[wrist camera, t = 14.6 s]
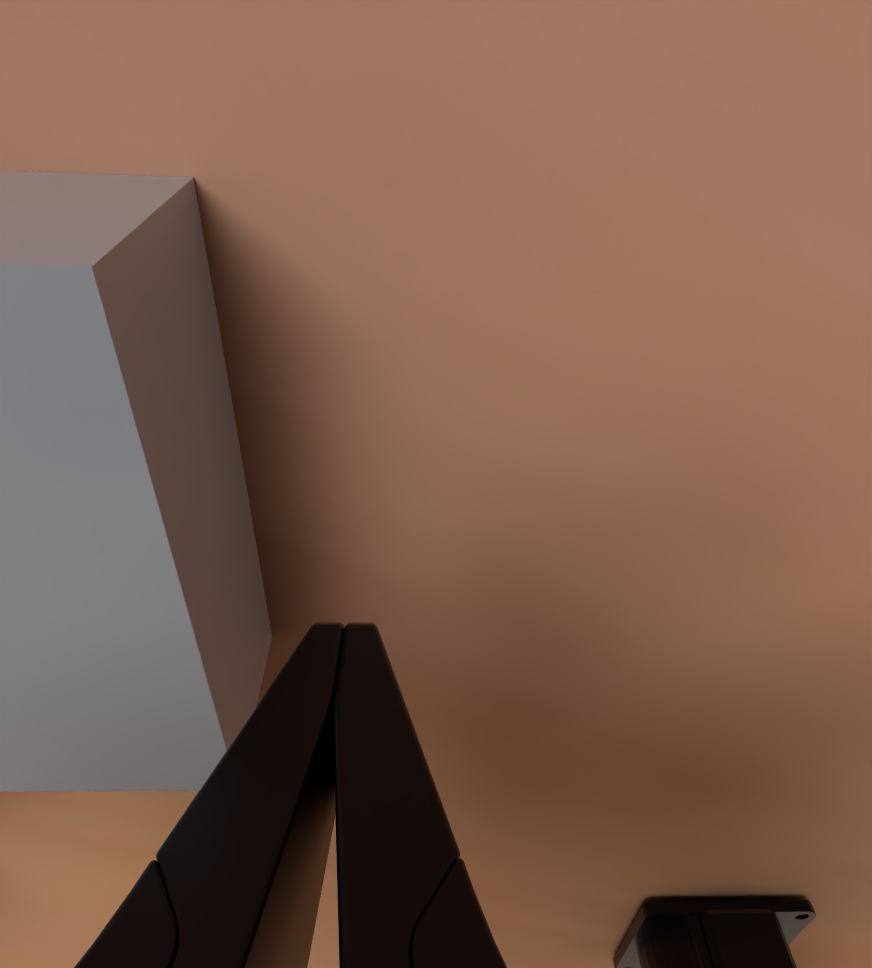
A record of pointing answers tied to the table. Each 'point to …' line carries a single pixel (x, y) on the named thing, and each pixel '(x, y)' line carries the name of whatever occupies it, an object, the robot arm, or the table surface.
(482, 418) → the table surface
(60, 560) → the slab
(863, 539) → the table surface
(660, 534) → the table surface
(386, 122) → the table surface
